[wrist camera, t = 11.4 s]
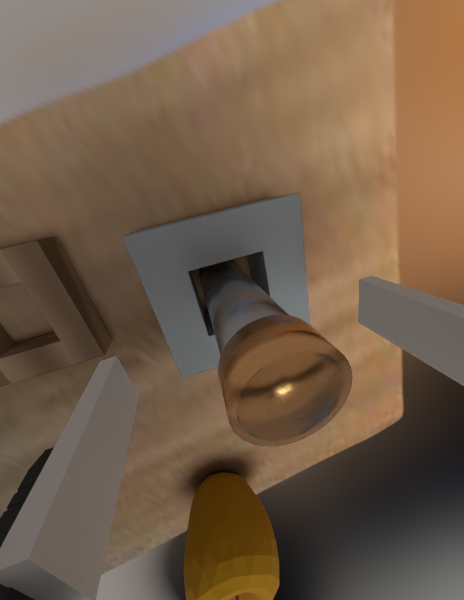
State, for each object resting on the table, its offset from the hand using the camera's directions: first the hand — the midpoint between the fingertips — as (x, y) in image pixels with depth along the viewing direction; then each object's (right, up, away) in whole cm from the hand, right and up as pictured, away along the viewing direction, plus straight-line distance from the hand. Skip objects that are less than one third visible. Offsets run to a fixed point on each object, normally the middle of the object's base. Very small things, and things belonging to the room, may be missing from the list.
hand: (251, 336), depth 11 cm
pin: (-2, +4, +10) cm, 11 cm away
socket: (-2, +4, +10) cm, 11 cm away
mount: (-19, +1, +7) cm, 20 cm away
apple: (-3, -26, +22) cm, 34 cm away
